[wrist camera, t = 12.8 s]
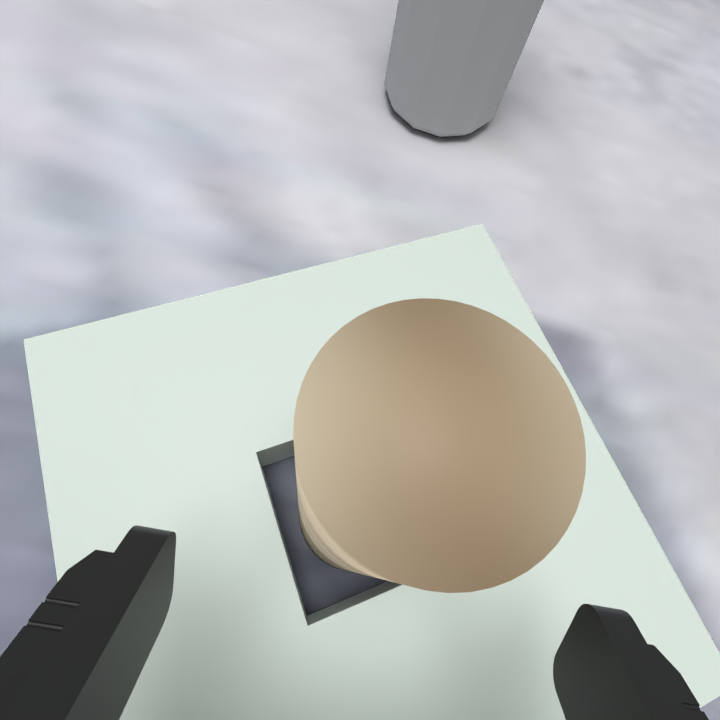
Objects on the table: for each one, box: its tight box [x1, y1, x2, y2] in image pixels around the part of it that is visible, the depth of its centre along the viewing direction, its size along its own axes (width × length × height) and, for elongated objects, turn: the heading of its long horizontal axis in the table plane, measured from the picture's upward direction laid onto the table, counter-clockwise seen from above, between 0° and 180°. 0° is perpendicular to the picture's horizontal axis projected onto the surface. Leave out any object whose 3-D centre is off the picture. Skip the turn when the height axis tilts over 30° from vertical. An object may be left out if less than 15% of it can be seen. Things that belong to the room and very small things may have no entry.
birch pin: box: [293, 298, 586, 593], centre depth 13 cm, size 4×4×14 cm
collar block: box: [24, 224, 720, 720], centre depth 19 cm, size 20×20×3 cm
